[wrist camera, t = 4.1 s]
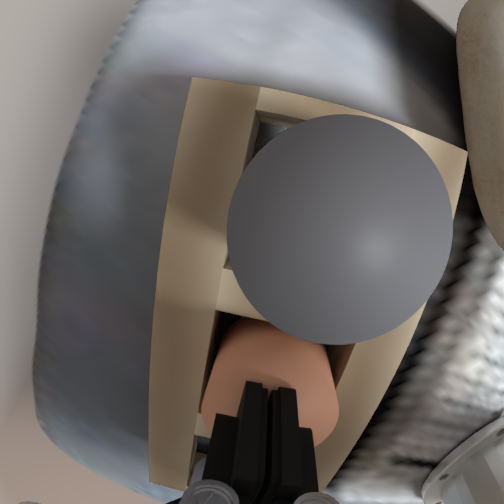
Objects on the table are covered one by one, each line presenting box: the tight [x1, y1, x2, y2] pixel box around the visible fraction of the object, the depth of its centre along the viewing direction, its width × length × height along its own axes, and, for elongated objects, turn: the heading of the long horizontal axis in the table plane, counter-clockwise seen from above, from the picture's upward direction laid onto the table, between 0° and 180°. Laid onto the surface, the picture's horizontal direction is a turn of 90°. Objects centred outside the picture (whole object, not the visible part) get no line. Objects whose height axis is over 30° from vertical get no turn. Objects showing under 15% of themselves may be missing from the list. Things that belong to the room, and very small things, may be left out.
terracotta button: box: [201, 316, 339, 447], centre depth 12 cm, size 5×5×4 cm
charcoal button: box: [227, 114, 453, 345], centre depth 8 cm, size 5×5×4 cm
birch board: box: [148, 77, 468, 493], centre depth 14 cm, size 10×21×3 cm, turn 168°
